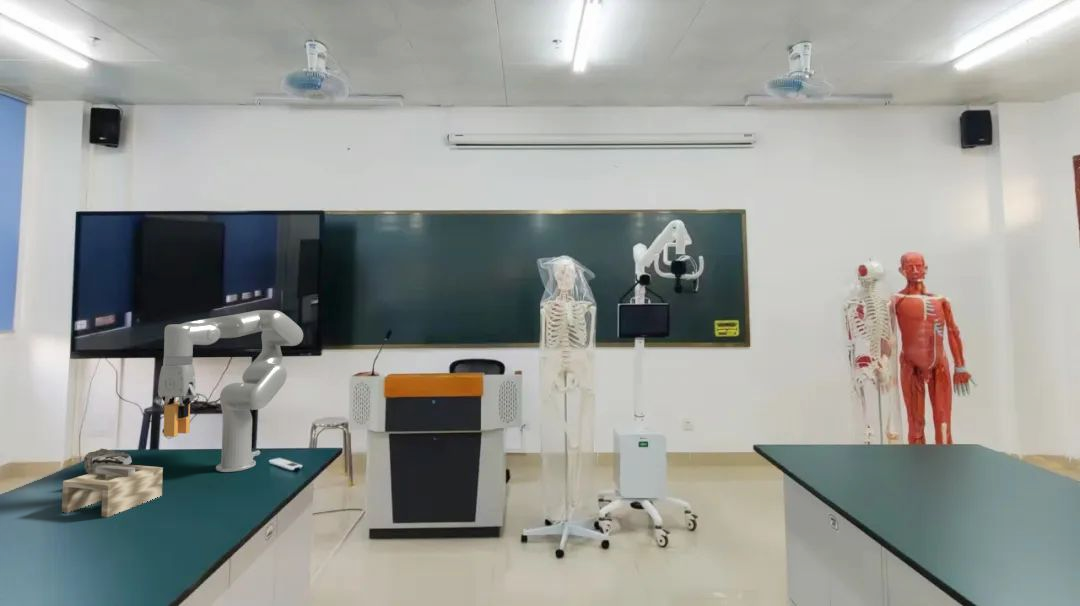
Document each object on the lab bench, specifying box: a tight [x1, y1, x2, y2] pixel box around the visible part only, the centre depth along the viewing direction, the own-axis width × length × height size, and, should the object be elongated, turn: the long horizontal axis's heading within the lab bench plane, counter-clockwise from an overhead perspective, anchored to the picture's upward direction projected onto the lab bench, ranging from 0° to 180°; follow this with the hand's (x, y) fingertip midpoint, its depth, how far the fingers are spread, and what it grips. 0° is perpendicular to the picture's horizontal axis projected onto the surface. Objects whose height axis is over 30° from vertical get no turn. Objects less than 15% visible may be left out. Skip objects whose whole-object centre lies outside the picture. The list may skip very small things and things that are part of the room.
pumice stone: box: [83, 448, 125, 474], centre depth 170 cm, size 14×12×8 cm
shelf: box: [61, 464, 164, 518], centre depth 142 cm, size 16×16×11 cm
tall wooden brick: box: [163, 401, 191, 438], centre depth 155 cm, size 5×4×10 cm
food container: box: [90, 453, 133, 473], centre depth 157 cm, size 12×6×10 cm, turn 84°
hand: (177, 416), depth 155 cm, fingers closed on tall wooden brick, 4 cm apart
